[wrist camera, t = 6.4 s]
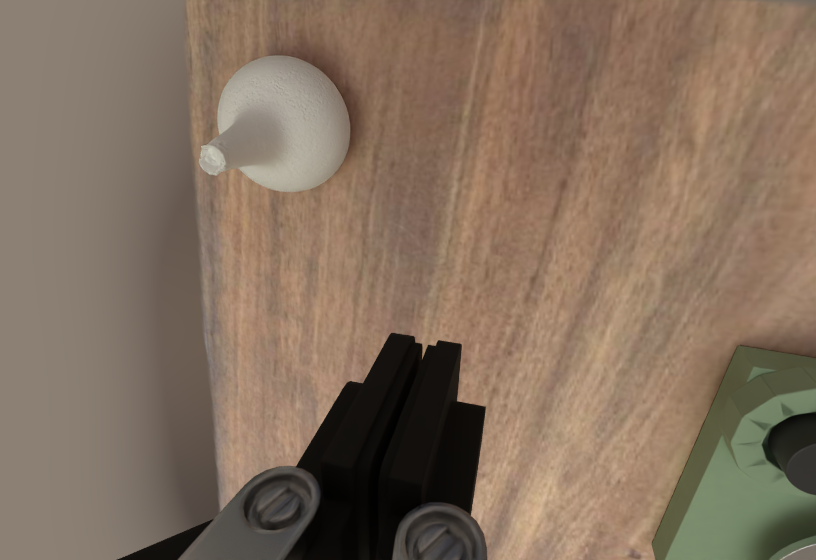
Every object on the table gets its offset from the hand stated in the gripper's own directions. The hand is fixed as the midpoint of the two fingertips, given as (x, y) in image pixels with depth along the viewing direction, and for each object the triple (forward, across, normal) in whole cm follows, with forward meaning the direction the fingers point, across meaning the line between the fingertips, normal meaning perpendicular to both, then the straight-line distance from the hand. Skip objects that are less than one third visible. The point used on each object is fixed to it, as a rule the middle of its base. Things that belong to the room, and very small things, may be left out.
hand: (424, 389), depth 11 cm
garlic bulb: (+14, +10, -4) cm, 18 cm away
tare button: (+11, -15, +8) cm, 20 cm away
